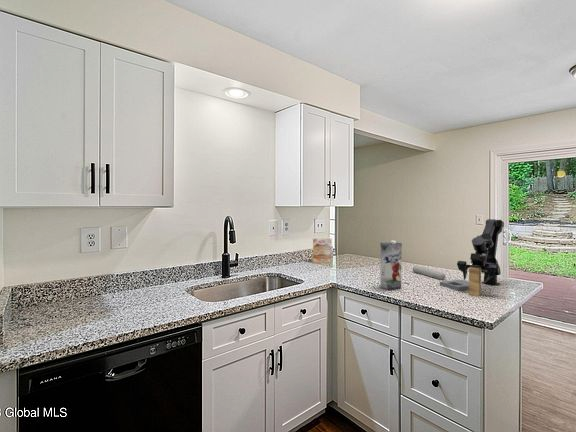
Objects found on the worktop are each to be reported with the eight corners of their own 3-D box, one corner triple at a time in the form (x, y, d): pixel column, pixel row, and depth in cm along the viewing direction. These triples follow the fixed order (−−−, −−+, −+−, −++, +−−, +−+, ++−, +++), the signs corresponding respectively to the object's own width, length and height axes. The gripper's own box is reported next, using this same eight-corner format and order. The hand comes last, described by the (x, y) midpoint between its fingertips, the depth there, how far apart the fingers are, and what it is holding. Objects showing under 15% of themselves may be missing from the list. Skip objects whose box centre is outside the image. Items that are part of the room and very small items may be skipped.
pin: (471, 292, 162) (471, 266, 162) (480, 294, 159) (481, 267, 159) (468, 294, 159) (469, 267, 159) (478, 296, 156) (478, 269, 156)
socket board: (461, 282, 183) (461, 279, 183) (480, 288, 171) (480, 284, 171) (439, 285, 179) (439, 281, 179) (458, 290, 166) (458, 287, 166)
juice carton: (378, 287, 175) (378, 240, 174) (392, 285, 179) (392, 239, 179) (388, 291, 167) (389, 241, 166) (403, 288, 171) (403, 240, 170)
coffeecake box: (313, 262, 252) (312, 239, 251) (313, 261, 259) (313, 238, 258) (331, 263, 249) (331, 239, 249) (331, 261, 256) (331, 238, 256)
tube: (448, 273, 191) (419, 266, 215) (442, 271, 190) (413, 264, 213) (446, 282, 191) (417, 273, 215) (439, 280, 189) (411, 271, 213)
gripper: (458, 246, 168) (451, 268, 161) (498, 249, 155) (493, 274, 147) (462, 258, 174) (455, 281, 166) (502, 262, 161) (496, 287, 153)
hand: (474, 280), depth 158 cm, fingers open, 9 cm apart
